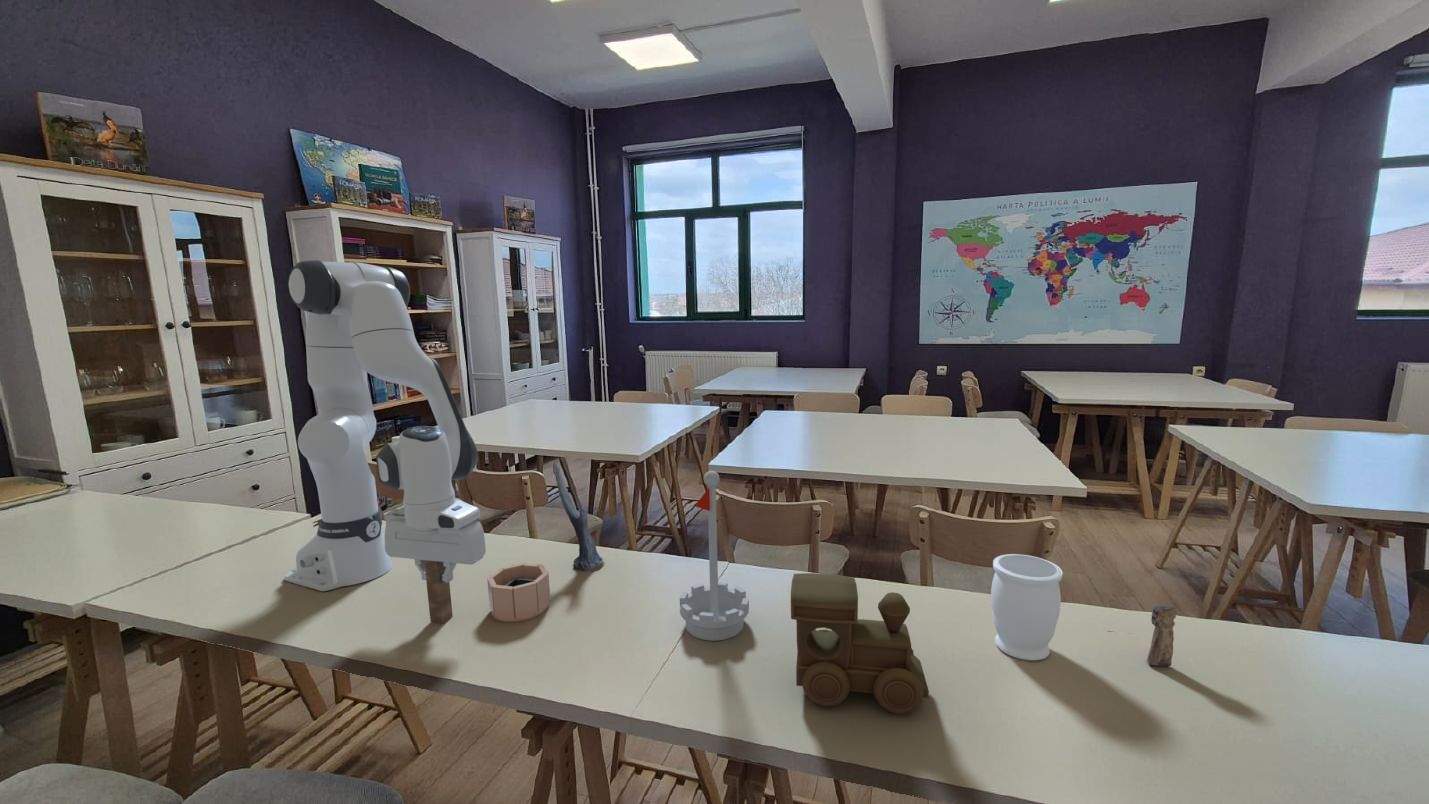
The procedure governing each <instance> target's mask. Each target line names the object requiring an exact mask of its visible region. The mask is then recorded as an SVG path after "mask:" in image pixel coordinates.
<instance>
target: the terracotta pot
mask: <svg viewBox="0 0 1429 804" xmlns="http://www.w3.org/2000/svg"><path fill="white" fill-rule="evenodd" d="M549 573H550V572H549V571H548V570H547V568H546V567H545V566H544V565H543V564H538V563H528V562H527V563H526V562H522V563H518V564H513V565H509V566H508V565H507V566H504V567H501V568H499V569H498V570H496V571H495V572H494V573H492V574H491V575H489V576H488V577H487V590H488V591H487V592H488V601H489V608H490V610H491V616H492V617H493V619H494V620H496V621H499V622H502V623H519V622H524V621H525V622H526V621H530V620H531V619H534V618H536V617H538V616H540V615H542V614H543V613H545V611H547V610H548V608H549V605H550V602H551V592H550V591H551V590H550V578H549V577H550V574H549ZM513 578H524V579H534V580H535V581H533V582H530V583H526V584H522V585H518V586H514V587H512V586H505V585H506V584H507V583H508V582H510V581H511V580H512V579H513Z"/></svg>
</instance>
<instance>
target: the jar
mask: <svg viewBox="0 0 1429 804" xmlns="http://www.w3.org/2000/svg"><path fill="white" fill-rule="evenodd" d="M992 566H993V567H992V568H993V570H994V571H995V573H994V575H993V577H992V583H991V590H990V602H991V604H990V605H991V609H992V610H991V611H992V618H993V619H992V620H993V625H994V628H995V630H996V633H997V634H996V635H995V638H994V643H995V645H996V647H997V648H998V649H999V650H1001V652H1003V653H1004V654H1007V655H1008V656H1011V657H1013V658H1017V659H1019V660H1024V661H1041V660H1044V659H1046V658H1048V657H1049V655H1050V653H1051V650H1050V647H1049V644H1050V642H1051V640H1052V639H1053V637H1054V634H1055V631H1056V627H1057V625H1058V621H1059V617H1060V612H1061V607H1062V606H1061V604H1062V601H1061V599H1062V598H1061V597H1062V596H1061V589H1060V588H1061V587H1060V581H1062V579H1063V570H1062V569H1061V568H1060V567H1059V565H1057V564H1055V563H1054V562H1051V561H1049V560H1046V559H1045V558H1041V557H1039V556H1033V555H1029V554H1021V553H1020V554H1019V553H1010V554H1009V553H1006V554H1001V555H998V556H996V557H995V558H994V559H993V560H992Z"/></svg>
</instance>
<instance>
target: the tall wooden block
mask: <svg viewBox="0 0 1429 804" xmlns="http://www.w3.org/2000/svg"><path fill="white" fill-rule="evenodd" d="M424 563H425V573H426V580H425V582H426V589H427V590H426V591H427V599H428V610H429V612H428V613H429V619H430V621H429V622H430V623H435V624H436V623H437V624H442V625H443V624H445V622H447V621H448V620H450V619H452V618H453V616H454V615H453V606H452V597H451V596H452V595H451V594H452V593H451V586H450V582H449V583H446V582H441V578H440V574H441V573H443V572H444V571H445V569H446V567H444V565H443V562H439V561H429V560H424Z"/></svg>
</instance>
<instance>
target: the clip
mask: <svg viewBox="0 0 1429 804" xmlns="http://www.w3.org/2000/svg"><path fill="white" fill-rule="evenodd" d="M533 581H535V580H534V579H524V578H513V579H512V580H511V581H510V582H508V583H507V584H506V585H505V586H512V587H514V586H518V585H522V584H526V583H530V582H533Z"/></svg>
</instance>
